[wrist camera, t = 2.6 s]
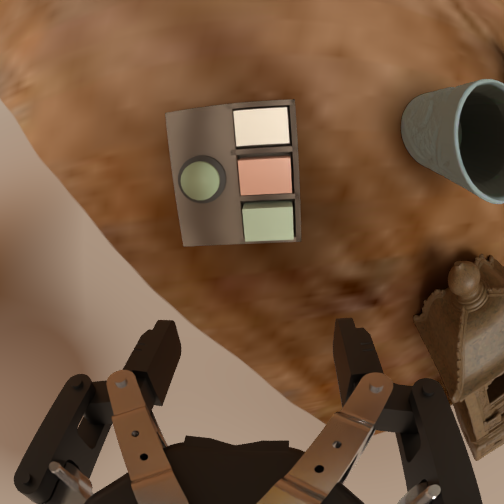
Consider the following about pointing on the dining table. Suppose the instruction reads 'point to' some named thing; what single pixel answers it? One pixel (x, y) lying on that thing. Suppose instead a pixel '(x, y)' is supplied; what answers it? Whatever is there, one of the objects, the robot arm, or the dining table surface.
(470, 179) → the grey-green tumbler
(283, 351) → the dining table surface
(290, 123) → the key console
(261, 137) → the cream key
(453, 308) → the brown lantern
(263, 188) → the terracotta key
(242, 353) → the dining table surface
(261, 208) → the sage key
